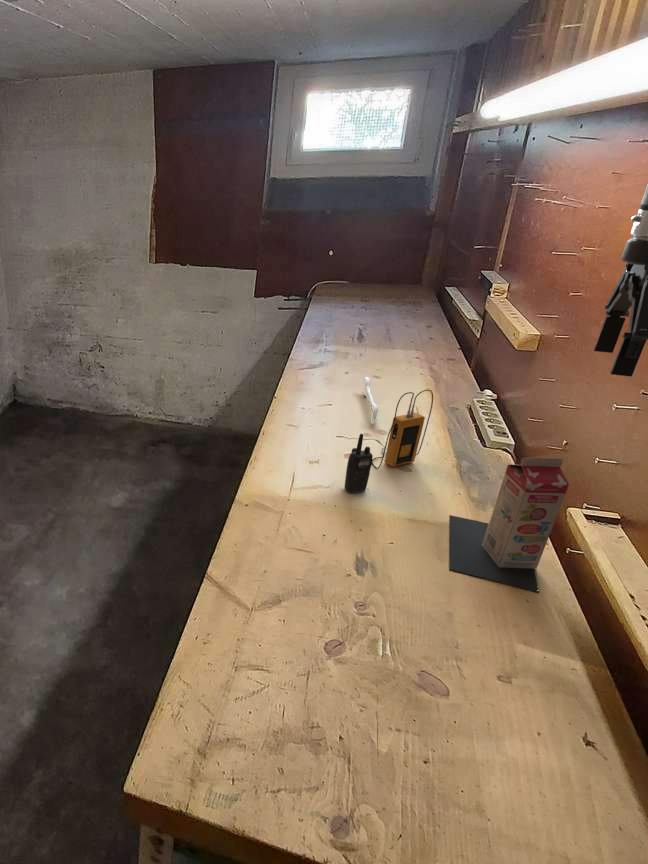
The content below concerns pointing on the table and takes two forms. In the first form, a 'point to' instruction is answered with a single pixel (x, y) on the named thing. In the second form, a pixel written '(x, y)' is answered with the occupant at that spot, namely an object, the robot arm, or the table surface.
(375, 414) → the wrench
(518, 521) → the juice carton
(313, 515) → the table surface
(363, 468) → the two-way radio
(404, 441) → the multimeter
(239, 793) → the table surface
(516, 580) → the edge mat
